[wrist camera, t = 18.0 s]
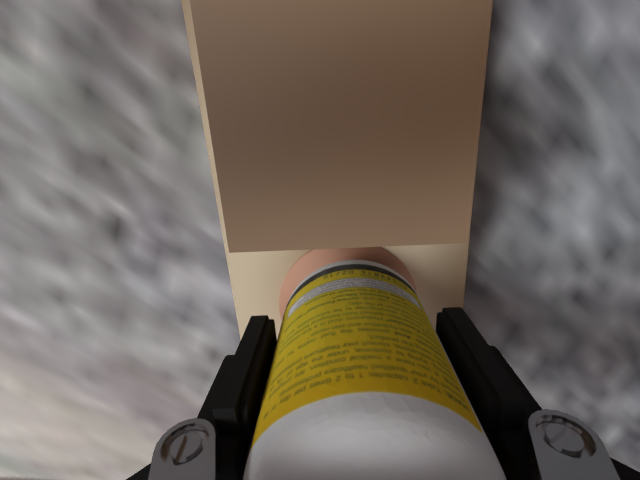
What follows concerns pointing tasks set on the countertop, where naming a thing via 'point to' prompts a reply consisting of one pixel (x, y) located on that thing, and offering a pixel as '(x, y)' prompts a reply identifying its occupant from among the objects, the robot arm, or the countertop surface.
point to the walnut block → (343, 119)
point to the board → (326, 254)
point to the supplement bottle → (364, 388)
